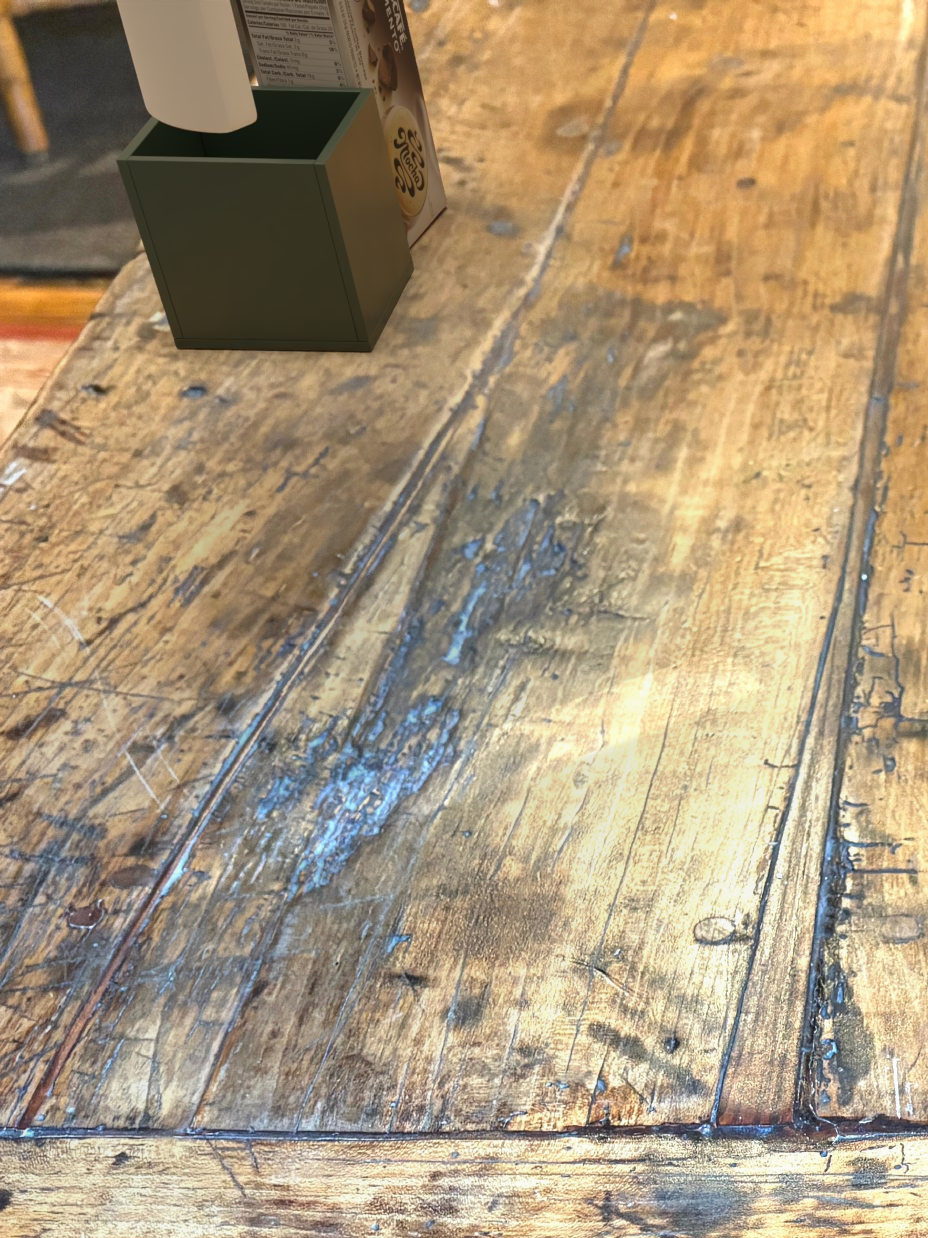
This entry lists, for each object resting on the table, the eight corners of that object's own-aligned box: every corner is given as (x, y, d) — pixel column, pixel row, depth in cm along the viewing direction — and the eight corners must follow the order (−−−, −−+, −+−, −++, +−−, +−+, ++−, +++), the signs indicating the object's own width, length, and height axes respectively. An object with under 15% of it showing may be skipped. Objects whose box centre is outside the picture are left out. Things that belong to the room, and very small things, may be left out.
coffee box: (356, 198, 130) (289, -78, 118) (450, 206, 129) (393, -70, 118) (298, 257, 123) (222, -28, 112) (397, 265, 123) (331, -20, 111)
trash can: (176, 348, 115) (115, 159, 107) (231, 265, 122) (178, 83, 115) (371, 352, 115) (324, 163, 107) (414, 268, 123) (373, 87, 115)
